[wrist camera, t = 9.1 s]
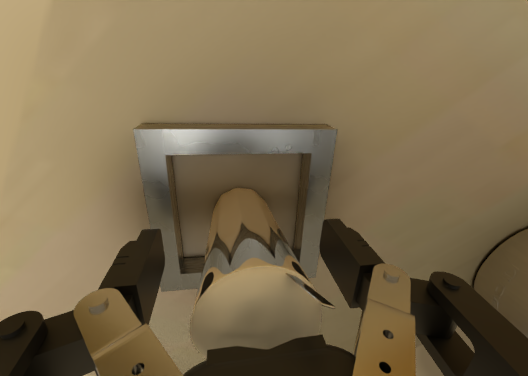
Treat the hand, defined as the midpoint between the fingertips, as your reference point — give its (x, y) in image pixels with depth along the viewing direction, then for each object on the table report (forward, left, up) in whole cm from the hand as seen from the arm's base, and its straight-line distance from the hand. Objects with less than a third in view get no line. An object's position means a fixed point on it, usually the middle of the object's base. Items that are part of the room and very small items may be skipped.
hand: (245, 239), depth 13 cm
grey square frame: (0, 0, -4) cm, 4 cm away
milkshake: (0, 0, -4) cm, 4 cm away
